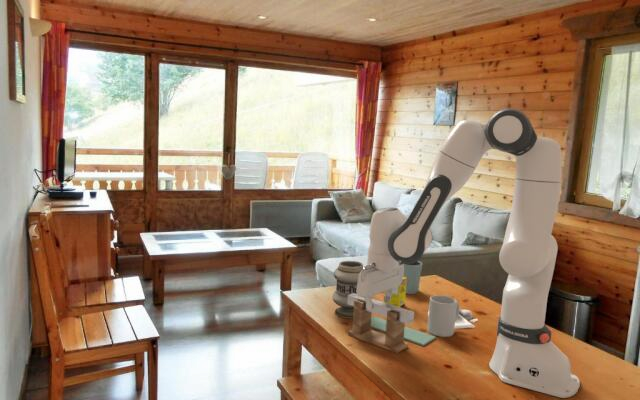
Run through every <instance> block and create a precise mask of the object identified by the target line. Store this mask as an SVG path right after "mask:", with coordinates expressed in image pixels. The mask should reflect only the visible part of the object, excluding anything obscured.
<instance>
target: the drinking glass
mask: <svg viewBox="0 0 640 400" xmlns="http://www.w3.org/2000/svg"><path fill="white" fill-rule="evenodd" d="M403 266H404V273H403V277H407V280H406V294H408V295H414V294H418V293H419V290H420V289H419V288H420V282H421V275H422V269H423V262H422V261H420V260H418V261H417V262H415V263H413V264H403Z"/></svg>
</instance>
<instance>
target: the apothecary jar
mask: <svg viewBox="0 0 640 400" xmlns="http://www.w3.org/2000/svg"><path fill="white" fill-rule="evenodd" d="M363 268H364V264H363V263H362V262H360V261H355V260H343V261H340V262H339V263H338V267H337V268H335V270H334V271H333V277H334V278H335V280H336V288H335V291H334V292H333V293H332V297H331V298H332V301H333V303H334V304H336V305H337V306H339V307H337V308H336V309H335V310H334V314H336V315H337V316H338V317H339V318H344V319H353V313H354V306H351V305H348V304H347V301H348V295H350V294H352V293H355V294H357V292H356V290H357V283H358V278H359V274H360V272H361V271H362V270H363Z"/></svg>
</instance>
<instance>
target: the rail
mask: <svg viewBox="0 0 640 400" xmlns="http://www.w3.org/2000/svg"><path fill="white" fill-rule="evenodd" d="M355 300H357V301H360V302H363V303H364V305H363V310H366V311H369V312H372V314H375V315H376V314H377V315H380V316H382V317H385V318H387V311H391V312H395V313H397V321H400V322H403V323H405V324H406V325H410V324H411V323H414V321H415V320H414V318H415V311H413V310H410V309H406V308H404V307H397V306H394V305H391V304H387V303H384V301H382V300H381V301H380V300H377V299H374V298H373V299H372V303H374V308H373V309H371V310H369V309H367V308H366V301H365V298H363V297H360V296H358V295H357V294H355V293H352V294H350V295H348V301H347V304H348V305H351V306H354V301H355Z"/></svg>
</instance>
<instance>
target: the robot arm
mask: <svg viewBox="0 0 640 400" xmlns="http://www.w3.org/2000/svg"><path fill="white" fill-rule="evenodd" d="M561 147H562V146H561V145H560V144H559V142H558V141H556V140H554V139H552V138H550V137H547V136H539V135H537V132H536V131H535V128H534V127H533V125H532V123H531V121H530V119H529V117H528V116H527V115H526V114H525V112H522V111H521V110H519V109H516V108H504V109H500V110H498V111H496V112H495V113H494V114H493V115H492V116H491V117H489V120H488V121H487V122H485V123H484V122H483V123H481V122H479V121H477V120H474V119H463V120H461V121H458V122H457V124H456V125H455V126H454V127H453V128H452V130H451V131H450V133H449V134H448V135H447V137H446V138H445V140H444V141H443V143H442V145H441V146H440V148H439V150H438V151H437V153H436V156H435V158H434V161H433V163H432V164H431V168H430V171H429V174H428V176H427V179H426V181H425V185H424V188H423V190H422V193H420V196H419V198H418V200H417V202H416V203H415V205H414V207H413V209H412V210H411V212H410V214H409V216H408V215H406V214H404V213H403V212H402V211H401V209H399V208H397V207H382V208H379V209H377V210H375V211H374V212H373V213H372V217H371V221H370V227H369V246H368V248H367V249H368V250H367V261H366V262H367V263H366V264H367V265H363V270H362V271H361V272H360V274H359V278H358V283H357V290H356V292H357V295H358V296H360V297H363V298H365V301H366V308H367V309H369V310H371V309H373V308H374V303H372V299H374V296H376V295H378V294H381V293H384V295H383V302H384V301H385V302H389V301H391V296H392V294H393V291H394V287H397V286H399V285H401V283H402V280H403V273H404V266H403V264H413V263H415V262H417V261H420V259H421V258H423V255H424V253H425V252H426V251H427V250H428V248H430V246H431V244H432V241H433V234H432V231H431V226H432V225H433V223H434V221H435V219H436V218H437V215H438V214H439V212H440V210H441V209H442V207H444V205H445V204H446V202H448V201H449V200H450V199H451V197H454V195H455V194H456V193H458V192H459V191H460V190H462V188H463V187H464V186H465V185H466V184H467V182H468V181H469V180H470V178H471V177H472V175H473V174H474V172H475V170H476V169H477V167H478V165H479V163H480V161H481V159H483V156H484V155H485V154H486V153H487V152H488V151H490V150H497V151H499V152H504V153H507V154H509V155H513V156H514V157H515V162H516V163H515V164H516V165H515V167H516V170H515V176H514V184H513V185H514V187H513V196H512V205H511V210H510V213H509V218H508V221H507V225H506V227H505V228H506V229H505V233H504V238H503V243H502V246H501V247H500V251H499V253H498V254H499V255H498V257H499V258H498V259H499V264H500V266H501V268H502V269H503V270H504V272H506V273H507V274H508V275H507V279H506V282H505V286H504V288H503V290H502V299H501V300H502V301H501V310H500V316H499V317H498V321H497V328H496V336H497V339H496V342H495V343H496V344H495V348H494V349H493V350H494V351H493V354H492V356H491V359H490V361H489V365H488V366H489V368H490V370H492V372H494V373H495V374H496V375H497V376H498V378H499V379H500V381H501V382H503V383H506V384H509V385H514V386H517V387H520V388H525V389H528V390H531V391H535V392H539V393H543V394H546V395H549V396H554V397H557V398H560V399H565V398H566V399H567V398H570V397H573V396H574V395H575V394H577V392H578V391H579V390H580V386H581V385H580V382H581V381H580V379H579V378H578V376H577V375H575V374H574V373H573V374H572V367H571V361H570V359H569V358H568V357H569V356H567V355H566V354H565V353H563V351H562V350H561V349H560V348H559V347H558V346H557V345H555V344H554V343H553V342H552V340H551V339H552V334H553V328H550V329H549V328H548V327H547V326H546V324H545V321H546V313H547V303H548V297H549V292H550V289H551V285H552V280H553V275H554V271H555V266H556V259H557V255H558V250H559V247H558V243H557V240H556V238H555V237H554V235H552V232H553V229H554V224H555V222H556V221H555V220H556V217H557V215H558V211H559V202H560V193H561V184H562V175H563V157H562V148H561ZM386 290H387V291H386ZM385 291H386V294H385ZM578 389H579V390H578Z"/></svg>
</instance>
